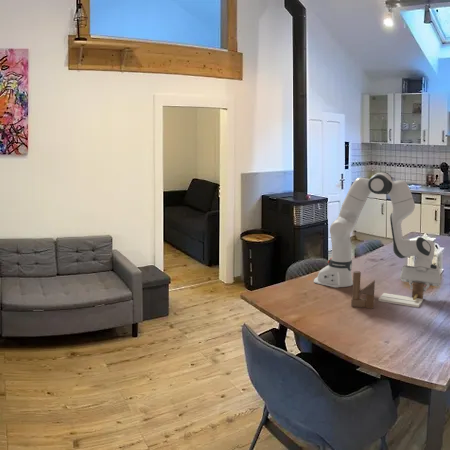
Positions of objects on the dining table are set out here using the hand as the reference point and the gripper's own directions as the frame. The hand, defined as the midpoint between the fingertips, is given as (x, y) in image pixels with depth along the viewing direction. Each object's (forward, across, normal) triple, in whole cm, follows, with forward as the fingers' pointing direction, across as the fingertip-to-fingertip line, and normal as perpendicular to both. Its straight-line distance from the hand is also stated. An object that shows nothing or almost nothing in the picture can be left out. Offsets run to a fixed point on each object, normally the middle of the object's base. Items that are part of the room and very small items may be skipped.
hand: (417, 290), depth 271 cm
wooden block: (+22, -22, -14) cm, 34 cm away
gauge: (+6, 0, +1) cm, 6 cm away
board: (+9, -7, -2) cm, 11 cm away
